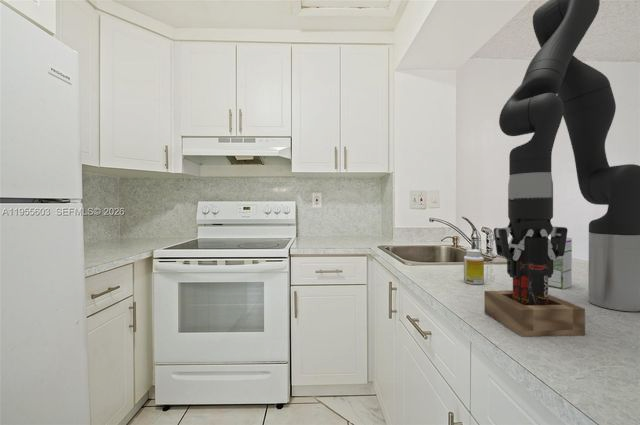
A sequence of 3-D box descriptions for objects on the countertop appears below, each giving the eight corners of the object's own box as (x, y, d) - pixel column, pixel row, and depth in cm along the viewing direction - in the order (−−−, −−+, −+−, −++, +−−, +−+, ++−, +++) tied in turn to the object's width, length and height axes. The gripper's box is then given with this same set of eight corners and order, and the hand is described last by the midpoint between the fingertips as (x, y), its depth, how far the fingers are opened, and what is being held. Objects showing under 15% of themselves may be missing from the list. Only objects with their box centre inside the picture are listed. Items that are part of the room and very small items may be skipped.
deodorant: (514, 301, 65) (514, 234, 64) (548, 307, 61) (548, 236, 60) (511, 309, 60) (510, 237, 60) (547, 316, 56) (547, 239, 56)
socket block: (536, 311, 66) (536, 289, 66) (585, 335, 54) (585, 308, 54) (484, 312, 66) (484, 290, 66) (521, 336, 54) (521, 309, 54)
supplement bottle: (487, 284, 89) (487, 251, 88) (470, 285, 88) (469, 252, 88) (477, 280, 94) (477, 248, 94) (460, 280, 94) (460, 249, 94)
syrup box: (572, 286, 85) (572, 237, 85) (563, 289, 83) (563, 238, 82) (549, 282, 90) (549, 235, 90) (540, 285, 88) (540, 237, 87)
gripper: (550, 196, 64) (549, 272, 64) (484, 197, 63) (484, 273, 64) (581, 194, 56) (580, 281, 56) (506, 196, 56) (507, 283, 56)
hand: (529, 277), depth 60 cm, fingers closed on deodorant, 6 cm apart
